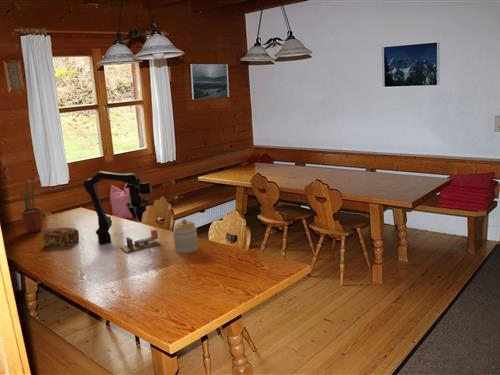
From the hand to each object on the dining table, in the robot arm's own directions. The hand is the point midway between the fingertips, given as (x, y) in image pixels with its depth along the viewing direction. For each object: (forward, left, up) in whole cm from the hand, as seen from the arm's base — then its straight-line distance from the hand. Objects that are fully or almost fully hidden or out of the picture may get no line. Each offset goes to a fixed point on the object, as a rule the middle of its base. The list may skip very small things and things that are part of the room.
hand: (137, 220), depth 286 cm
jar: (+14, -36, -13) cm, 41 cm away
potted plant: (-47, +70, -13) cm, 85 cm away
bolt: (0, -12, -10) cm, 16 cm away
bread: (-39, +30, -13) cm, 51 cm away
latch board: (-4, -12, -12) cm, 18 cm away
